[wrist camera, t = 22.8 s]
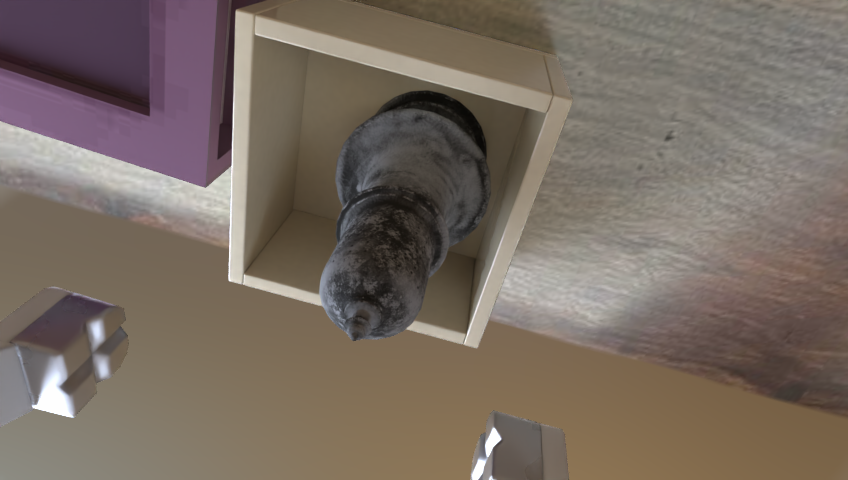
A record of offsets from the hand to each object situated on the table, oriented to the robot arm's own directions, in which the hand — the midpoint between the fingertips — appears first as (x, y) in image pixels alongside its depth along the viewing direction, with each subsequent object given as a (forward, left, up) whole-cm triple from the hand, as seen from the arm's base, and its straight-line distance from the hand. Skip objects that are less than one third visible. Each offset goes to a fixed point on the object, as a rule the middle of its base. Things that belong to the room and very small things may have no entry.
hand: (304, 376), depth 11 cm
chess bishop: (-1, 0, -14) cm, 14 cm away
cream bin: (0, 0, -14) cm, 14 cm away
